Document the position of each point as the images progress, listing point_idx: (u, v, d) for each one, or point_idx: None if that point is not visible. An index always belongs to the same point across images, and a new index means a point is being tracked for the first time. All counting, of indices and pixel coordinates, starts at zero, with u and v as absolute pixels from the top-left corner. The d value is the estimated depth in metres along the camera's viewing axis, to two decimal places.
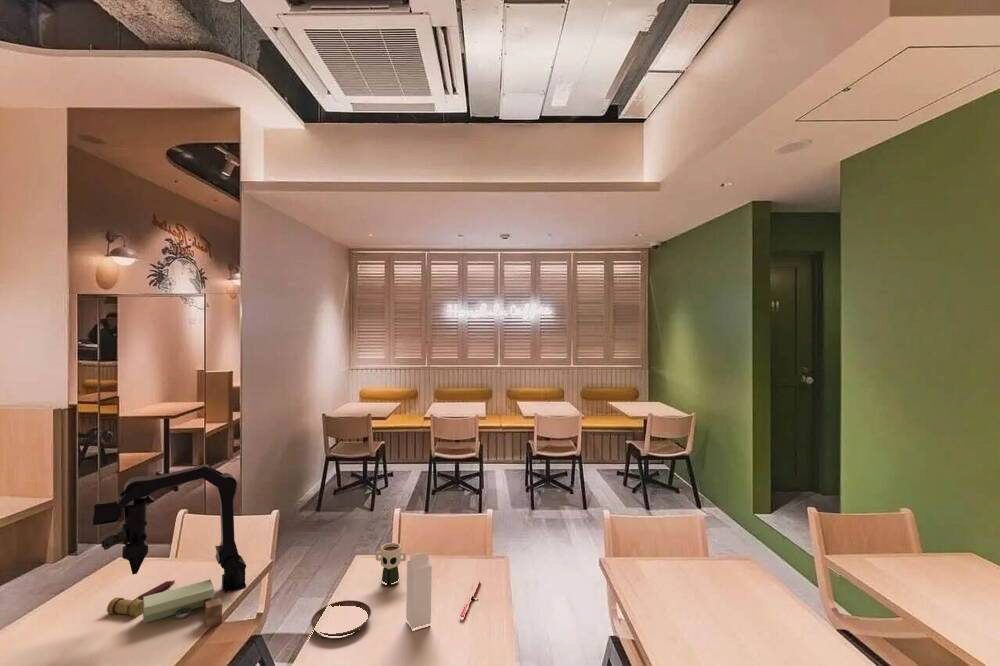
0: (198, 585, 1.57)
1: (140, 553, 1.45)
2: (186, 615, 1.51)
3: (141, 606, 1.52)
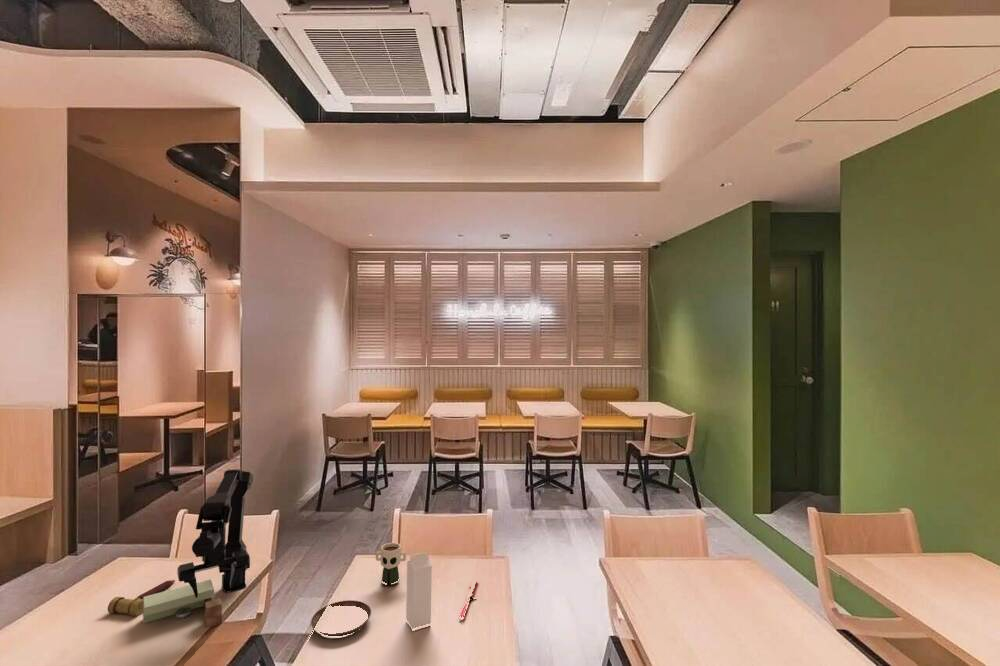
0: (198, 585, 1.57)
1: (178, 578, 1.42)
2: (186, 615, 1.51)
3: (142, 606, 1.53)
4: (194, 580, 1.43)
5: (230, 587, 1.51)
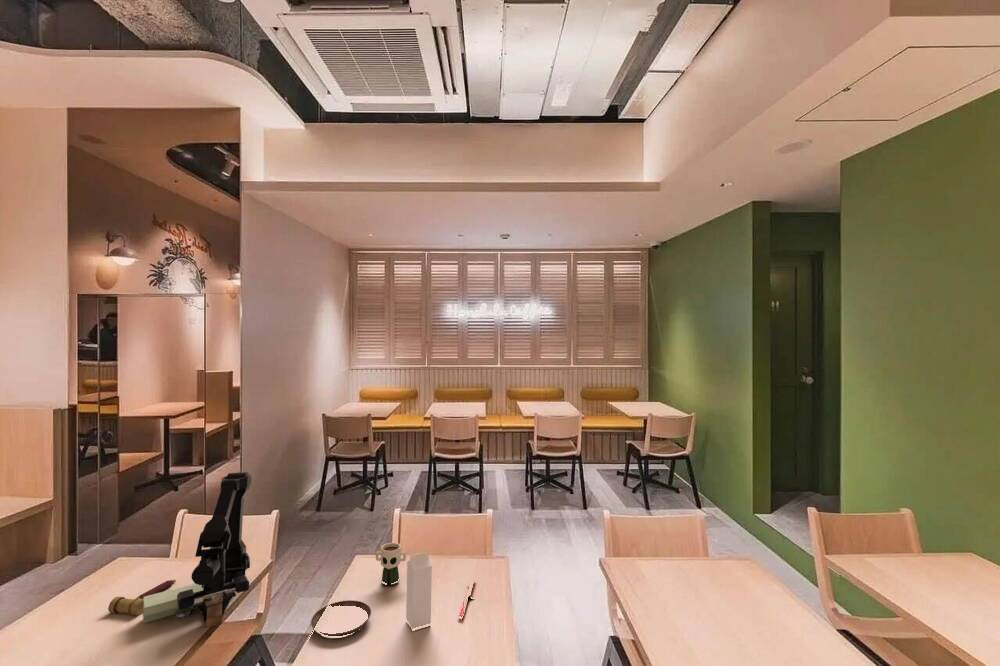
0: (198, 585, 1.57)
1: (178, 605, 1.42)
2: (185, 615, 1.50)
3: (142, 605, 1.53)
4: (203, 605, 1.44)
5: None
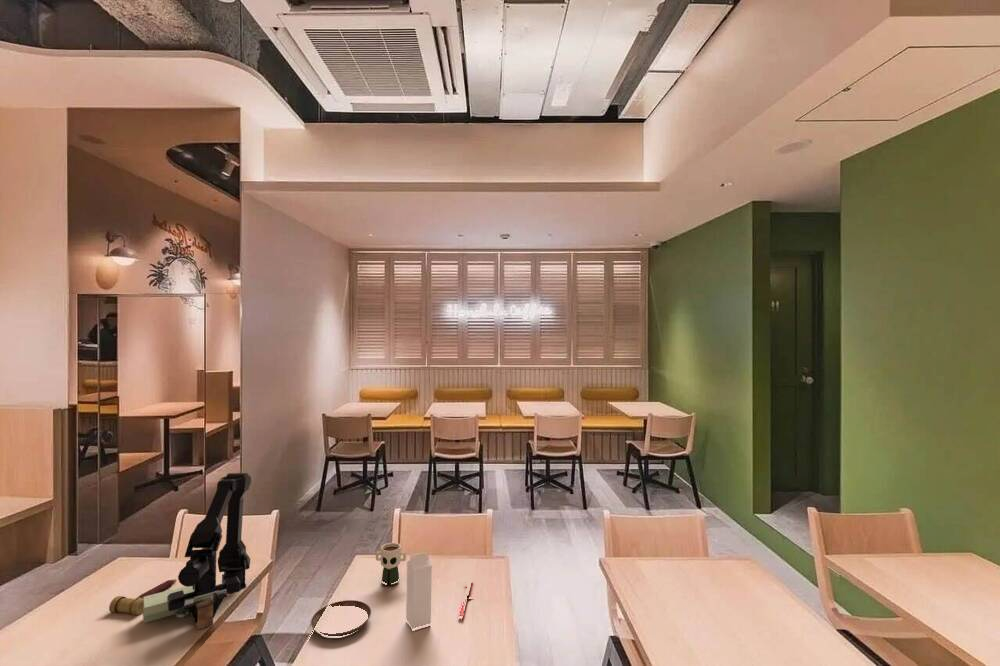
0: None
1: (168, 607, 1.40)
2: (184, 616, 1.50)
3: None
4: (194, 606, 1.43)
5: None
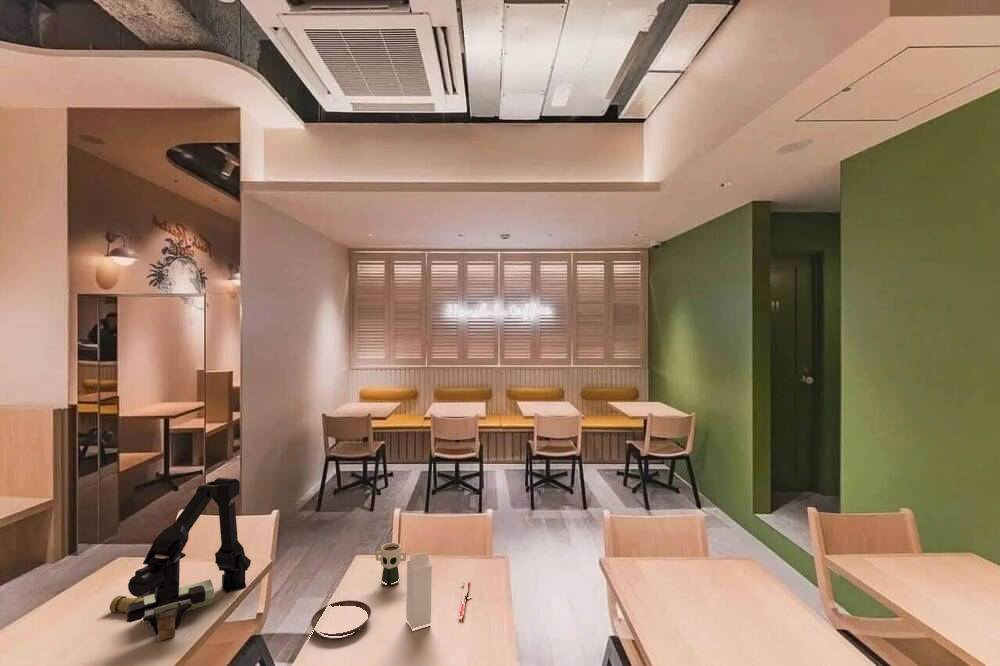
0: (198, 585, 1.57)
1: None
2: None
3: None
4: (154, 617, 1.37)
5: (175, 628, 1.42)
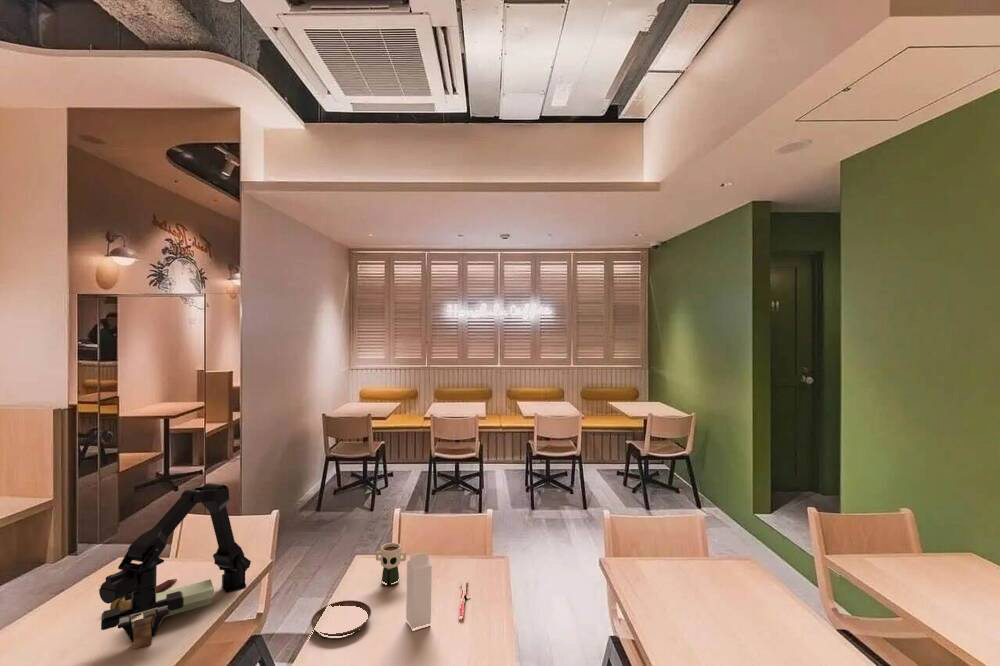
0: (198, 585, 1.57)
1: None
2: None
3: None
4: (129, 625, 1.33)
5: None
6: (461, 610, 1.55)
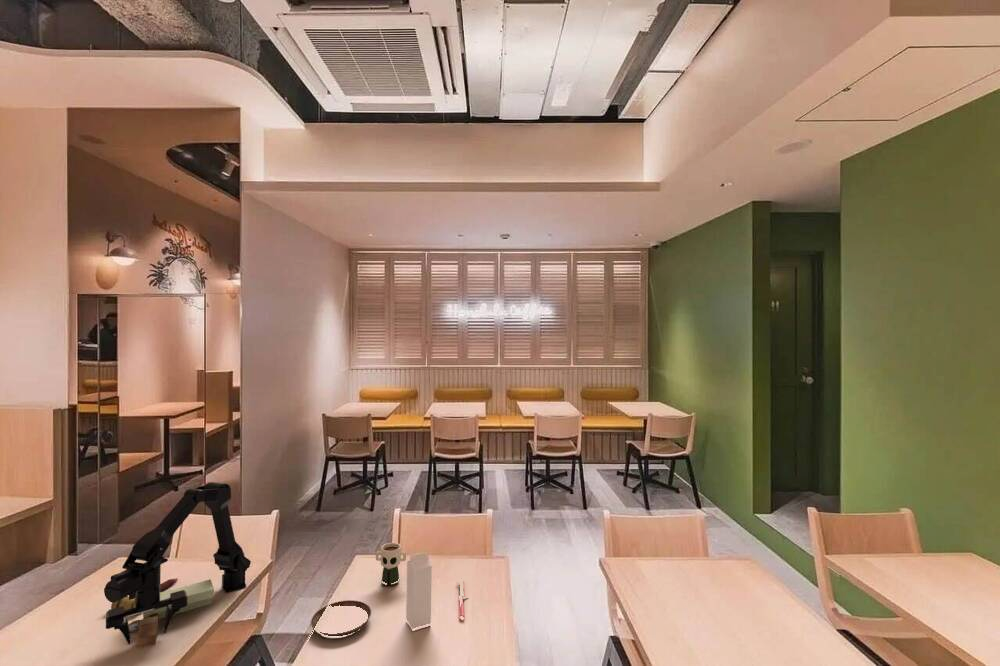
0: (198, 585, 1.57)
1: None
2: (135, 629, 1.43)
3: None
4: (125, 626, 1.33)
5: (164, 632, 1.40)
6: (461, 610, 1.55)
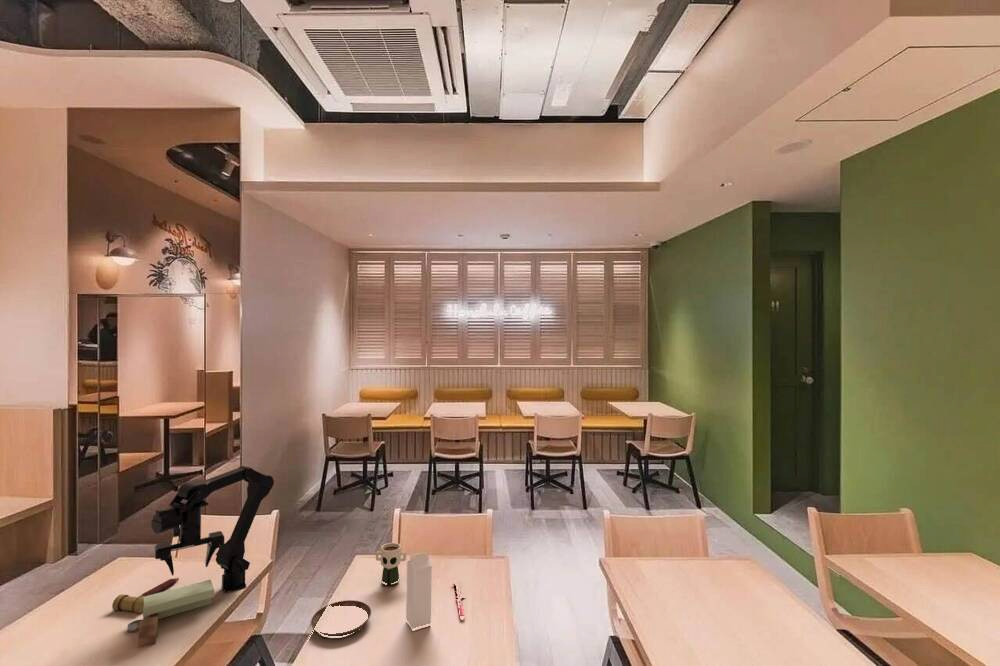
0: (198, 585, 1.57)
1: (155, 556, 1.49)
2: (133, 629, 1.43)
3: None
4: (170, 558, 1.50)
5: None
6: (460, 610, 1.55)
